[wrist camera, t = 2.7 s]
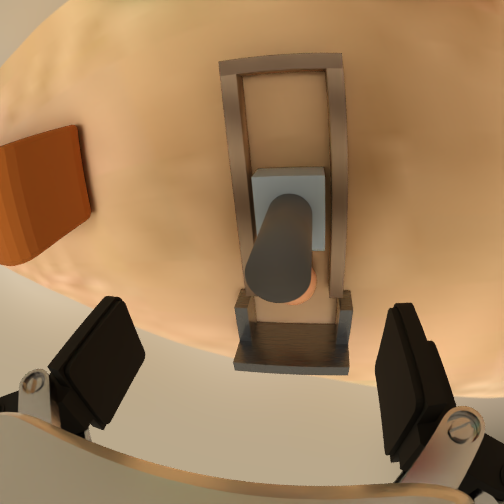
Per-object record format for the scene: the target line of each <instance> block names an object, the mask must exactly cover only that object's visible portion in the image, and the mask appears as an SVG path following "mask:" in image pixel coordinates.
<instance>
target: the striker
mask: <svg viewBox="0 0 504 504" xmlns="http://www.w3.org/2000/svg"><path fill="white" fill-rule="evenodd" d="M251 179H252V189H253V200H254V210H255V220H256V231H257V238H256V241H255V243H254V246H253V248H252V251H251V253H250V256H249V259H248V261H247V264H246V267H245V279H246V282H247V284H248V286H249V288H250V289H251V290H252V291H253V292H254V293H255V294H256V295H257V296H259V297H260V298H262V299H264V300H266V301H269V302H274V303H286V302H291V301H294V300H296V299H298V298H299V297H301V296H302V295H303V294H304V293H305V292H306V291H307V289H308V288H309V285H310V282H311V270H312V251H325V174H324V168H323V167H287V168H260V169H257V170H256V172H255V173H254V174H253V176H252V177H251Z"/></svg>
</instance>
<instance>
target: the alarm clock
mask: <svg viewBox="0 0 504 504" xmlns="http://www.w3.org/2000/svg"><path fill="white" fill-rule="evenodd" d="M90 214H91V208H90V204H89V199H88V194H87V189H86V183H85V178H84V172H83V166H82V160H81V153H80V146H79V138H78V130H77V127H76V125H69V126H65V127H61V128H58V129H54V130H50V131H47V132H43V133H40V134H37V135H33V136H30V137H27V138H24V139H21V140H18V141H15V142H12V143H9V144H6V145H3V146H0V264H1V265H6V266H16V265H19V264H23V263H25V262H28V261H30V260H32V259H33V258H35V257H36V256H38V255H39V254H41V253H42V252H43V251H45V250H46V249H47V248H49V247H50V246H51V245H53V244H54V243H55V242H57V241H58V240H59V239H61V238H62V237H63V236H65V235H66V234H68V233H69V232H70V231H72V230H73V229H75V228H76V227H78V226H79V225H80V224H82V223H83V222H85V221H86V220H87V219H88V218H89V217H90Z"/></svg>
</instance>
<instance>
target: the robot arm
mask: <svg viewBox="0 0 504 504" xmlns="http://www.w3.org/2000/svg"><path fill="white" fill-rule="evenodd" d="M144 359H145V351H144V349H143V346H142V344H141V342H140V339H139V337H138V334H137V332H136V329H135V327H134V324H133V322H132V319H131V317H130V314H129V312H128V309H127V306H126V304H125V302H124V301H122V299H121V298H120V297H113V296H106V297H104V298H103V299H102V301H101V302H100V303H99V304H98V305H97V306H96V307H95V309H94V310H93V311H92V312H91V313H90V315H89V316H88V317H87V318H86V319H85V320H84V322H83V323H82V324H81V325H80V327H79V328H78V329H77V330H76V331H75V333H74V334H73V335H72V336H71V337H70V339H69V340H68V341H67V342H66V344H65V345H64V346H63V347H62V349H61V350H60V351H59V353H58V354H57V355H56V356H55V358H54V359H53V360H52V362H51V363H50V364H49V365H48V368H49V370H50V371H51V373H50V375H49V374H48V373H47V372H46V371H45V370H43V369H35V370H32V371H30V372H29V373H27V374H26V375H25V376H24V377H23V378H22V380H21V382H20V386H19V391H16V392H14V393H11V394H8V395H5V396H3V397H0V504H504V444H503V443H501V442H499V441H498V440H496V439H494V438H492V437H490V436H489V435H487V434H485V422H484V420H483V417H482V416H481V415H480V414H479V412H478V411H476V410H475V409H473V408H470V407H467V406H458V407H456V403H455V401H454V397H453V394H452V391H451V387H450V384H449V381H448V378H447V375H446V372H445V370H444V367H443V364H442V361H441V358H440V356H439V353H438V350H437V348H436V345H435V343H434V342H433V341H427V339H426V336H425V333H424V331H423V328H422V326H421V323H420V321H419V318H418V316H417V313H416V311H415V308H414V306H413V304H412V303H396V304H395V305H394V307H393V308H389V310H388V314H387V318H386V323H385V327H384V332H383V336H382V340H381V344H380V348H379V352H378V356H377V360H376V364H375V376H376V382H377V389H378V396H379V403H380V411H381V419H382V429H383V438H384V449H385V454H386V455H390V459H391V462H400V469H401V470H403V471H402V472H401V474H400V475H399V476H398V477H397V479H396V480H395V481H394V483H388V484H371V485H353V486H352V485H351V486H294V485H293V486H292V485H276V484H264V483H253V482H245V481H238V480H230V479H224V478H218V477H212V476H206V475H201V474H196V473H192V472H187V471H182V470H178V469H174V468H170V467H166V466H163V465H159V464H155V463H152V462H148V461H145V460H142V459H138V458H135V457H132V456H129V455H126V454H123V453H120V452H117V451H114V450H112V449H109V448H106V447H103V446H101V445H98V444H96V443H93V442H92V441H91V437H90V433H89V428H88V427H89V425H90V424H91V425H92V426H93V427H96V428H99V429H101V430H104V428H105V426H106V424H109V423H110V422H111V420H112V418H113V416H114V414H115V412H116V411H117V409H118V407H119V405H120V403H121V401H122V399H123V397H124V396H125V394H126V392H127V390H128V388H129V386H130V385H131V383H132V381H133V379H134V377H135V376H136V374H137V372H138V370H139V368H140V367H141V365H142V363H143V361H144Z"/></svg>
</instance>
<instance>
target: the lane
mask: <svg viewBox="0 0 504 504" xmlns="http://www.w3.org/2000/svg"><path fill="white" fill-rule="evenodd" d="M219 71H220V80H221V90H222V99H223V108H224V117H225V125H226V134H227V143H228V152H229V160H230V169H231V177H232V186H233V194H234V202H235V211H236V219H237V227H238V235H239V243H240V251H241V259H242V267H243V275H244V283H245V290H246V296H257V295H256V294H255V293H254V292H253V291H252V290H251V289H250V288H249V286H248V284H247V282H246V279H245V267H246V264H247V261H248V259H249V256H250V253H251V251H252V248H253V246H254V243H255V241H256V238H257V231H256V220H255V210H254V200H253V189H252V179H251V177H252V173H251V163H250V153H249V143H248V133H247V123H246V113H245V103H244V94H243V84H242V76H247V75H256V74H267V73H281V72H301V71H325V75H326V87H327V101H328V116H329V136H330V166H331V240H330V270H329V298H342V296H343V284H344V271H345V256H346V238H347V211H348V141H347V115H346V98H345V83H344V71H343V61H342V53H299V54H281V55H268V56H257V57H248V58H240V59H233V60H226V61H219Z"/></svg>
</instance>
